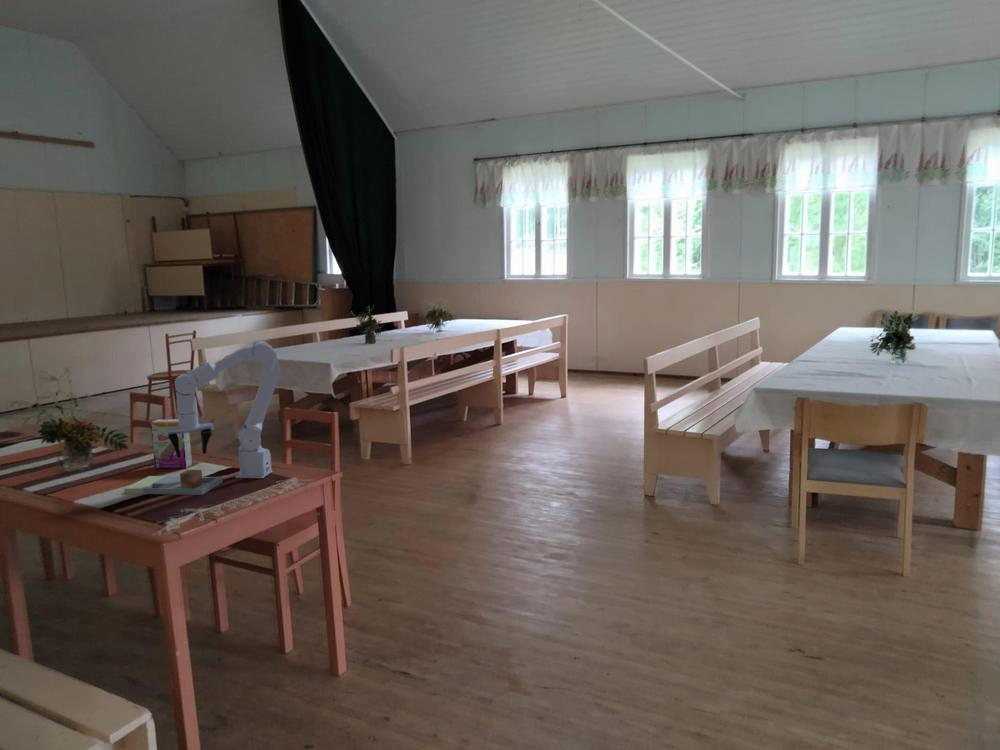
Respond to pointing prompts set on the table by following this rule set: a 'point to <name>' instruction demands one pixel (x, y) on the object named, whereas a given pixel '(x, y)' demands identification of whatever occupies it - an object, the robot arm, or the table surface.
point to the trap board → (170, 486)
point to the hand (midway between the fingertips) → (191, 454)
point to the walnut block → (191, 478)
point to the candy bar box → (169, 446)
